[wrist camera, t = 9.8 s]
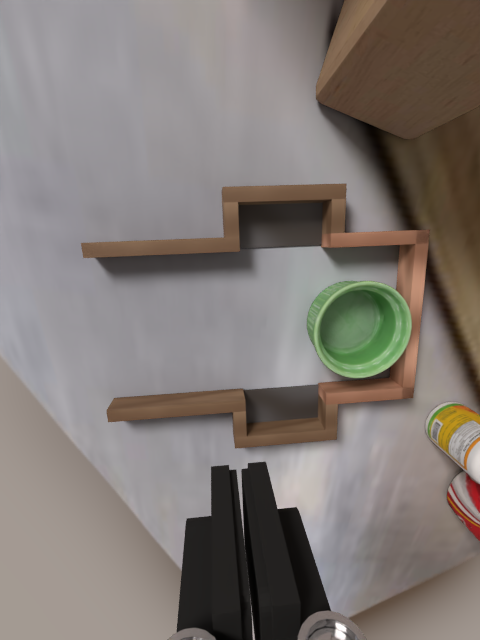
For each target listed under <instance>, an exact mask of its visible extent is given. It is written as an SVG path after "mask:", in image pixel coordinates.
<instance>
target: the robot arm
mask: <svg viewBox="0 0 480 640" xmlns="http://www.w3.org/2000/svg"><path fill="white" fill-rule="evenodd" d="M242 494H243V518H244V536H243V527H242V518H241V509H240V500H239V491H238V482H237V473H236V470H229V465H224V466H214V467H211V516H208V517H198V518H188V519H187V521H186V529H185V541H184V552H183V564H182V576H181V587H180V600H179V611H178V623H177V633H175V634H173V635H172V636H171V637H170V638H169V639H168V640H253V637H252V616H253V625H254V634H255V640H367V639H366V637H365V636H364V634H363V633H362V631H361V630H360V628H359V627H358V626H356V625H355V624H354V623H353V622H352V621H351V620H350V619H349V618H347V617H345V616H343V615H341V614H340V613H336V612H332V611H331V609H330V606H329V603H328V600H327V597H326V594H325V591H324V588H323V585H322V581H321V578H320V575H319V572H318V569H317V566H316V563H315V560H314V557H313V554H312V550H311V547H310V544H309V541H308V538H307V535H306V532H305V529H304V526H303V523H302V519H301V516H300V513H299V511H298V509H297V507H295V508H285V509H277V505H276V501H275V497H274V493H273V489H272V485H271V481H270V477H269V473H268V469H267V465H266V462H257V463H248V469H242ZM244 540H245V545H244ZM245 552H246V554H245ZM246 562H247V563H246ZM247 571H248V572H247ZM248 580H249V581H248ZM249 589H250V590H249ZM250 598H251V600H250ZM251 607H252V613H251Z"/></svg>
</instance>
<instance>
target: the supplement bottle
mask: <svg viewBox="0 0 480 640" xmlns="http://www.w3.org/2000/svg"><path fill="white" fill-rule="evenodd" d="M425 430H426V434H427V436H428V437H429V439H430V440H431V441H432V442H433V443H434V444H435V445H436V446H438V447H439V448H440V449H441V450H442V451H443V452H444V453H445V454H446V455H448V456H449V457H450V458H451V459H452V460H453V461H454V462H455V463H456V464H458V465H459V466H460V467H461V468H462V469H463V470H464V471H465V472H466V473H467V474H469V475H470V476H471V477H472V478H473V479H474V480H476V481H477V482H478V483H480V415H479V414H477V413H476V412H474V411H473V410H471V409H469V408H468V407H466V406H465V405H463V404H461V403H457V402H447V403H443V404H441V405H439V406H437V407H436V408H435V409H434V410H432V412H431V413H430V414H429V416H428V418H427V420H426V424H425Z"/></svg>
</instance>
